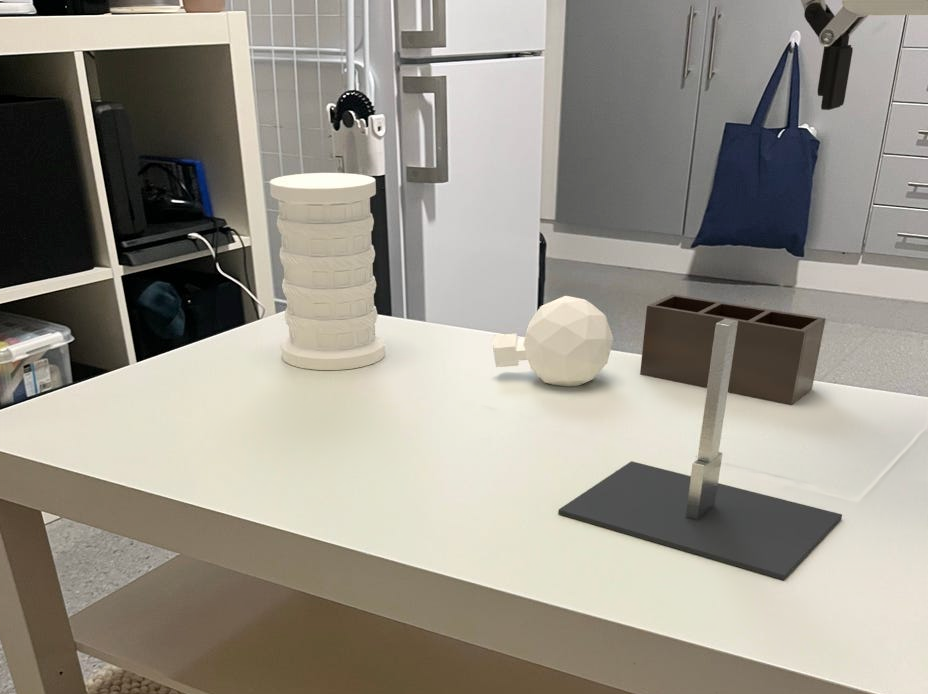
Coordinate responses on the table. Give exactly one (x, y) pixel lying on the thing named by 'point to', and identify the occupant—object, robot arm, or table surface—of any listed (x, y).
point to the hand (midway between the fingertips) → (899, 110)
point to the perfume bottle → (560, 343)
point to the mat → (705, 519)
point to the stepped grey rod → (712, 423)
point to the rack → (755, 351)
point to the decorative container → (328, 270)
